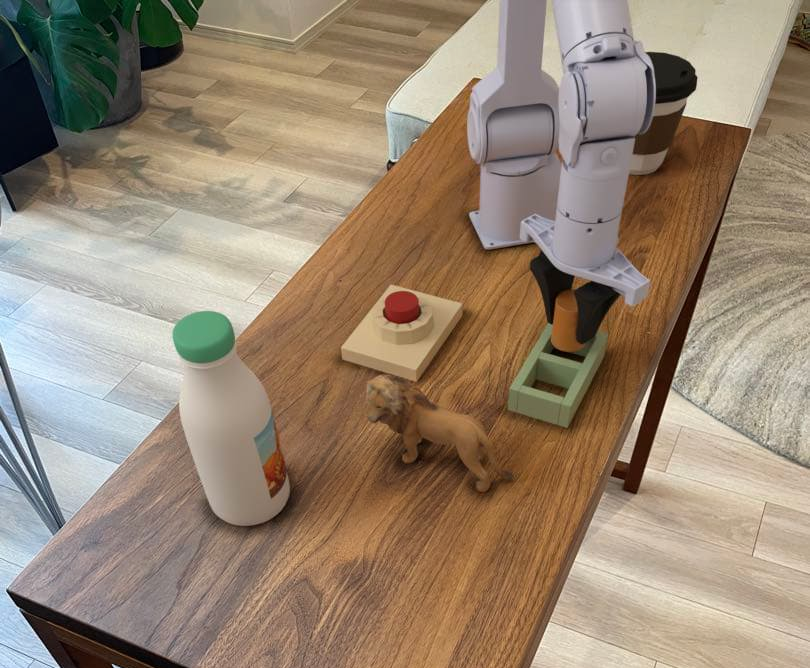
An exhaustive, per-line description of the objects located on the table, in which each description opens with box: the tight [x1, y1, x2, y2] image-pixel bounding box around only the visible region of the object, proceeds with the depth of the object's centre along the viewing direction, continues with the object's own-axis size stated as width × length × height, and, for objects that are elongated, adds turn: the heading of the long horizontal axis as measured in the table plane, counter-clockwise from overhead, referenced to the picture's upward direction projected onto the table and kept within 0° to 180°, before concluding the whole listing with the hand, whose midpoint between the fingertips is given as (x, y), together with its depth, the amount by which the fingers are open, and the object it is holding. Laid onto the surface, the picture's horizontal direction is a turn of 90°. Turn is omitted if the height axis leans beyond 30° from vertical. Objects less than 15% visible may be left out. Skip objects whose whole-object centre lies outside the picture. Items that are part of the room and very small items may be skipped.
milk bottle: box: [172, 310, 291, 527], centre depth 71 cm, size 8×8×20 cm
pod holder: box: [507, 322, 609, 429], centre depth 86 cm, size 6×12×3 cm, turn 154°
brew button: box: [385, 291, 419, 324], centre depth 89 cm, size 4×4×2 cm
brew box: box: [340, 284, 464, 383], centre depth 91 cm, size 12×9×4 cm
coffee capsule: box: [551, 288, 586, 353], centre depth 83 cm, size 4×4×5 cm
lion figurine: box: [363, 374, 515, 493], centre depth 77 cm, size 15×5×9 cm, turn 69°
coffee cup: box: [629, 51, 698, 176], centre depth 107 cm, size 11×11×12 cm
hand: (571, 329), depth 84 cm, fingers closed on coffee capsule, 3 cm apart
